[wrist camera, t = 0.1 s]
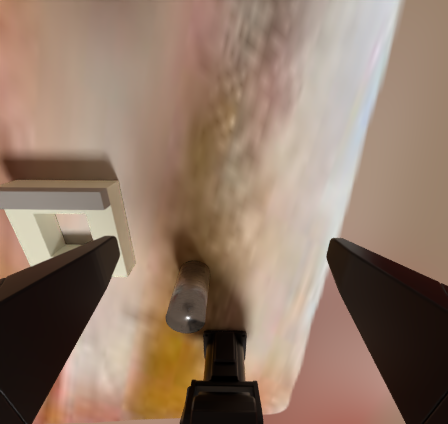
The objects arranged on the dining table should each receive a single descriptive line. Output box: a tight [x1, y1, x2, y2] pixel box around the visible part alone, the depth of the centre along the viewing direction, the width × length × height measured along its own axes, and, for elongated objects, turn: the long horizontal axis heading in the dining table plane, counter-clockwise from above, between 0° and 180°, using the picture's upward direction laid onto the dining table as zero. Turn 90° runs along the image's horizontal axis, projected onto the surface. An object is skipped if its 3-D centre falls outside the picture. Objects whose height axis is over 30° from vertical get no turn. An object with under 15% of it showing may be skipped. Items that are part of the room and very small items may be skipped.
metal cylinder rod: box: [166, 261, 210, 333], centre depth 25 cm, size 4×4×7 cm
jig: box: [0, 180, 136, 277], centre depth 24 cm, size 11×11×4 cm
